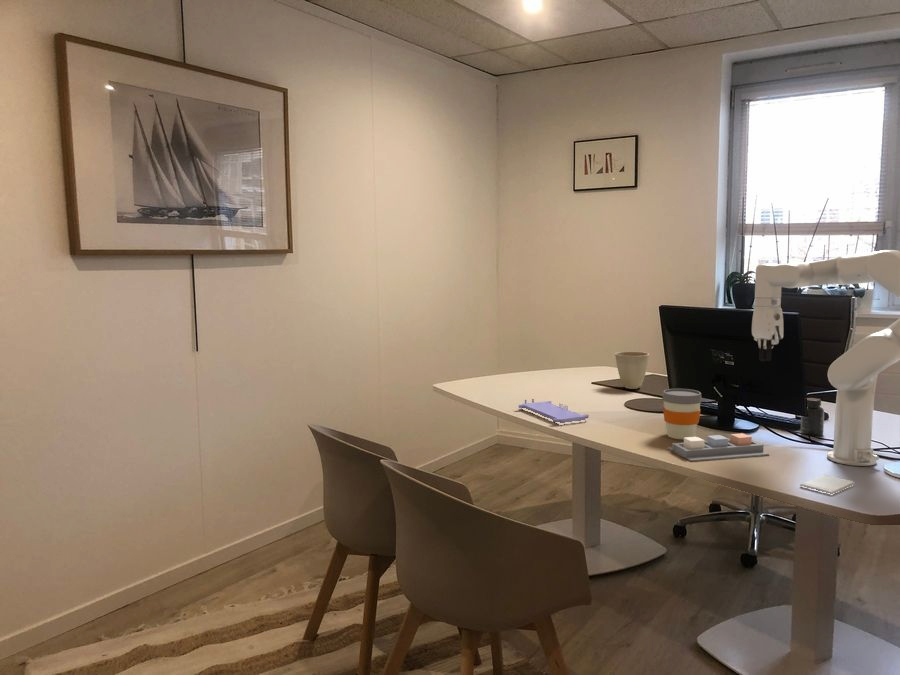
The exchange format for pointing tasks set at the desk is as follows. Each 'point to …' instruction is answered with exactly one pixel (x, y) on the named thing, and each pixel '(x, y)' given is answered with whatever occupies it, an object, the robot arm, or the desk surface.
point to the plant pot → (632, 367)
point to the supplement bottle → (813, 418)
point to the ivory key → (693, 442)
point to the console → (719, 451)
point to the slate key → (717, 441)
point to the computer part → (553, 411)
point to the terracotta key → (740, 439)
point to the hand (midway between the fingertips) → (765, 360)
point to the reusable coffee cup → (681, 412)
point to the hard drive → (828, 484)
